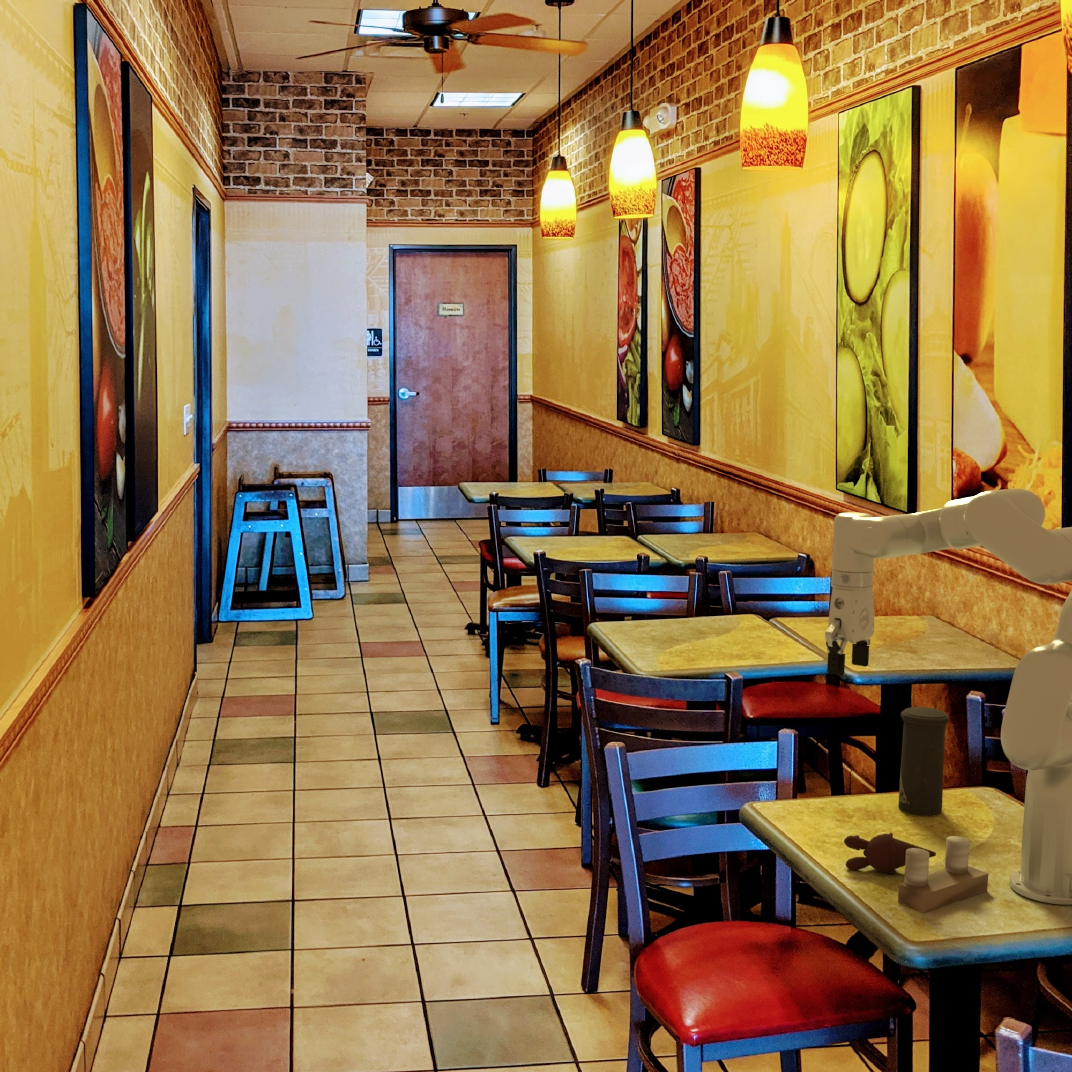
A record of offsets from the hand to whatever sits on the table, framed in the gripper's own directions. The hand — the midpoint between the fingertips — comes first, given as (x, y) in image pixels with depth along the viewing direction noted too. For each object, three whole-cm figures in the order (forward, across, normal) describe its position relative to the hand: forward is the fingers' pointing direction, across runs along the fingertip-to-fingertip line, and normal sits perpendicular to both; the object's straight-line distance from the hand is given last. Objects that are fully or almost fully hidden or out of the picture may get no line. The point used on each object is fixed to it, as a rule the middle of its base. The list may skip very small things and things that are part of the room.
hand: (847, 669), depth 244 cm
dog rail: (+29, -23, -30) cm, 47 cm away
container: (+29, +15, -9) cm, 34 cm away
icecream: (+29, -19, -18) cm, 39 cm away
